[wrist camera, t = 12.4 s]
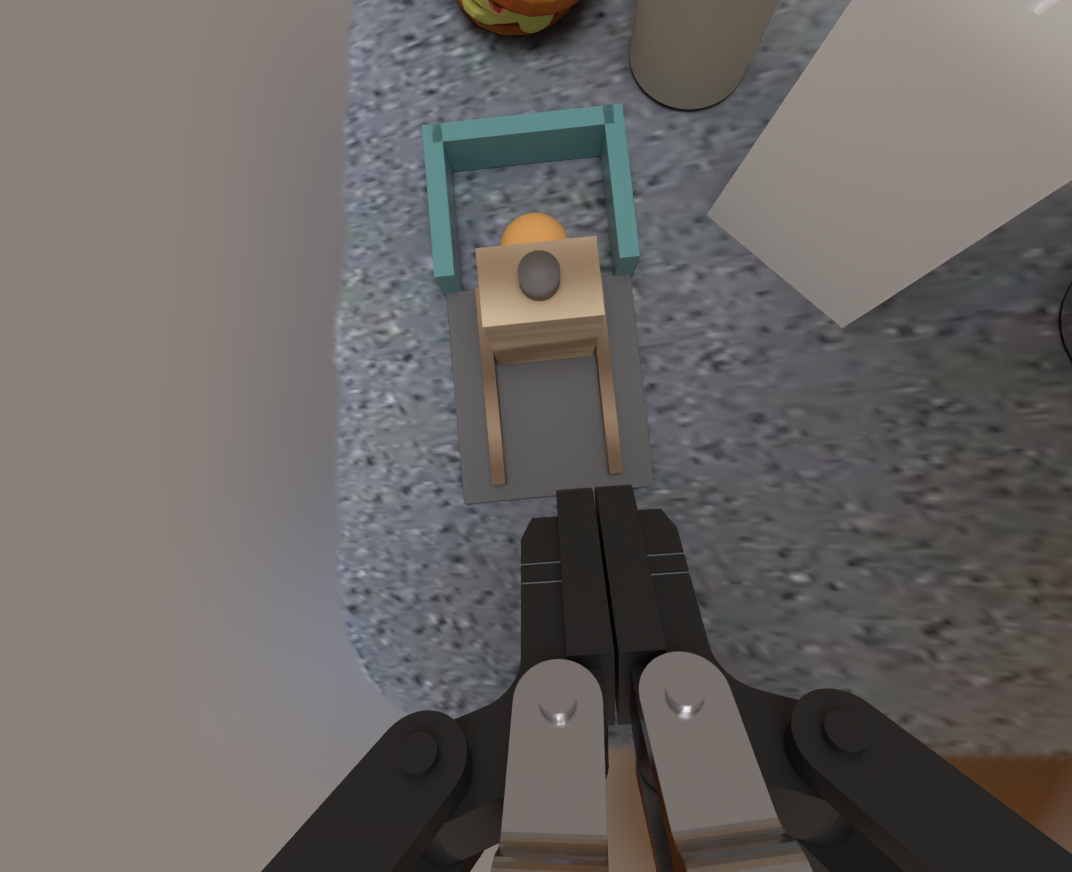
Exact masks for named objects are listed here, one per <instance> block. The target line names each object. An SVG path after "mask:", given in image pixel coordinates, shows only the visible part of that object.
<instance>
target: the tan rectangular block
mask: <svg viewBox="0 0 1072 872" xmlns="http://www.w3.org/2000/svg"><path fill="white" fill-rule="evenodd" d="M475 249H476V260H477V271H478V282H479V293H480V304H481V316H482V327H483V329H484V332H485V334H486V336H487V339H488V341H489V343H490V345H491V348H492V350H493V352H494V355H495V357H496V359H497V362H498V364H499V365H507V364H517V363H527V362H536V361H546V360H556V359H566V358H576V357H586V356H593V352H594V349H595V346H596V342H597V339H598V336H599V332H600V329H601V326H602V323H603V319H604V316H605V311H604V302H603V293H602V284H601V275H600V265H599V256H598V247H597V238H596V236H589V237H580V238H570V239H561V240H551V241H542V242H532V243H522V244H513V245H503V246H494V247H484V248H475Z"/></svg>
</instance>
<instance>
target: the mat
mask: <svg viewBox="0 0 1072 872" xmlns="http://www.w3.org/2000/svg"><path fill="white" fill-rule="evenodd" d="M602 285H603V294H604V303H605V312H606V321H607V330H608V340H609V349H610V358H611V367H612V376H613V385H614V394H615V404H616V413H617V422H618V431H619V440H620V449H621V459H622V468H623V473H616V474H608V469H607V460H606V450H605V441H604V432H603V422H602V413H601V404H600V394H599V385H598V375H597V366H596V357H595V349H594V352H593V356H586V357H576V358H566V359H556V360H546V361H536V362H527V363H517V364H507V365H499V364H498V362H497V359H496V357H495V359H496V370H497V381H498V392H499V403H500V414H501V425H502V435H503V446H504V457H505V468H506V479H507V484H502V485H492V475H491V464H490V452H489V441H488V430H487V419H486V408H485V396H484V385H483V374H482V363H481V351H480V340H479V329H478V318H477V307H476V295H475V290H467V291H458V292H448V293H446V294H447V306H448V318H449V330H450V341H451V353H452V365H453V377H454V389H455V401H456V412H457V424H458V436H459V448H460V460H461V472H462V483H463V495H464V504H470V503H480V502H491V501H501V500H511V499H522V498H532V497H543V496H553V495H556V490H562V489H576V488H589V487H592V489H593V492H595V487H600V486H614V485H627V484H631V485H632V487H633V488H636V487H647V486H654V478H653V470H652V461H651V452H650V443H649V434H648V426H647V417H646V408H645V399H644V391H643V382H642V373H641V364H640V355H639V347H638V338H637V329H636V320H635V311H634V303H633V294H632V285H631V276H630V274H623V275H613V276H603V277H602Z"/></svg>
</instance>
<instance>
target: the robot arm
mask: <svg viewBox="0 0 1072 872" xmlns="http://www.w3.org/2000/svg"><path fill="white" fill-rule="evenodd" d="M1061 328H1062V334H1063V338H1064V342H1065V345H1066V347H1067V349H1068V351H1069V353H1070V355H1071V357H1072V285H1071V287H1070V288H1069V290H1068V293H1067V295H1066V297H1065V300H1064V303H1063V308H1062V313H1061ZM556 495H557V510H558V516H556V517H542V518H532V519H531V521H530V523H529V525H528V527H527V529H526V531H525V533H524V535H523V537H522V539H521V663H520V667H519V671H518V674H517V676H516V679H515V680H514V682H513V684H512V685H511V687H510V688H509V689H508V690H507V691H506V693H504V694H503V695H502V696H501V697H500V698H499V699H497V700H496V701H495V702H493V703H491V704H489V705H487V706H485V707H483V708H481V709H478V710H476V711H474V712H471V713H469V714H466V715H464V716H462V717H459V718H457V719H454V720H453V719H452V718H451V717H449V716H448V715H446V714H444V713H441V712H437V711H419V712H415V713H412V714H409V715H407V716H405V717H404V718H402V719H400V720H399V721H398V722H396V723H395V724H394V725H393V726H392V727H390V728H389V729H388V731H387V732H386V733H385V734H384V735H383V736H382V737H381V738H380V740H379V741H378V742H377V743H376V744H375V745H374V746H373V747H372V748H371V749H370V751H369V752H368V753H367V754H366V755H365V756H364V757H363V758H362V760H361V761H360V762H359V763H358V764H357V765H356V766H355V767H354V769H353V770H352V771H351V772H350V773H349V774H348V775H347V777H346V778H345V779H344V780H343V781H342V782H341V783H340V784H339V785H338V786H337V788H336V789H335V790H334V791H333V792H332V793H331V794H330V795H329V797H328V798H327V799H326V800H325V801H324V802H323V803H322V804H321V805H320V807H319V808H318V809H317V810H316V811H315V812H314V813H313V814H312V815H311V817H310V818H309V819H308V820H307V821H306V822H305V823H304V824H303V826H302V827H301V828H300V829H299V830H298V831H297V832H296V833H295V835H294V836H293V837H292V838H291V839H290V840H289V841H288V842H287V843H286V845H285V846H284V847H283V848H282V849H281V850H280V851H279V852H278V853H277V855H276V856H275V857H274V858H273V859H272V860H271V861H270V862H269V864H268V865H267V866H266V867H265V868H264V869H263V870H262V872H470V871H471V869H472V868H473V867H474V865H475V863H476V862H477V861H478V859H479V858H480V856H481V855H482V853H483V852H484V850H485V849H488V848H490V847H492V846H494V845H496V844H498V843H499V847H498V850H497V851H496V853H495V856H494V859H493V863H492V868H491V872H608V844H607V815H606V814H607V812H606V778H607V774H608V768H609V764H608V725H615V701H616V709H617V717H618V725H619V724H631V725H632V732H633V739H634V746H635V753H636V758H635V771H636V777H637V781H638V786H639V791H640V796H641V800H642V805H643V810H644V815H645V819H646V824H647V829H648V834H649V838H650V843H651V848H652V853H653V857H654V862H655V867H656V872H1072V854H1071V853H1069V852H1068V851H1067V850H1065V849H1064V848H1062V847H1061V846H1060V845H1058V844H1057V843H1056V842H1054V841H1053V840H1052V839H1050V838H1049V837H1048V836H1046V835H1045V834H1044V833H1042V832H1041V831H1040V830H1038V829H1037V828H1035V827H1034V826H1033V825H1032V824H1030V823H1029V822H1028V821H1026V820H1025V819H1024V818H1022V817H1021V816H1020V815H1018V814H1017V813H1015V812H1014V811H1013V810H1011V809H1010V808H1008V807H1007V806H1006V805H1004V804H1003V803H1002V802H1001V801H999V800H998V799H997V798H995V797H994V796H993V795H991V794H989V792H987V791H986V790H985V789H983V788H982V787H981V786H979V785H978V784H976V783H975V782H974V781H972V780H971V779H970V778H968V777H967V776H966V775H964V774H963V773H962V772H960V771H959V770H958V769H956V768H955V767H954V766H952V765H951V764H950V763H948V762H947V761H946V760H944V759H943V758H942V757H940V756H939V755H938V754H936V753H935V752H934V751H932V750H931V749H929V748H928V747H927V746H925V745H924V744H923V743H921V742H920V741H919V740H917V739H916V738H915V737H913V736H912V735H911V734H909V733H908V732H907V731H905V730H904V729H903V728H901V727H900V726H899V725H897V724H896V723H895V722H893V721H892V720H891V719H889V718H888V717H887V716H885V715H884V714H882V713H881V712H880V711H878V710H877V709H876V708H874V707H873V706H872V705H870V704H869V703H867V702H866V701H864V700H863V699H861V698H860V697H858V696H855V695H853V694H851V693H848V692H845V691H842V690H837V689H817V690H814V691H811V692H809V693H807V694H805V695H804V696H803V697H802V698H800V699H799V700H796V699H792V698H788V697H784V696H780V695H776V694H772V693H769V692H765V691H761V690H758V689H755V688H751V687H749V686H747V685H745V684H743V683H741V682H739V681H738V680H736V679H735V678H733V677H732V676H731V675H729V674H728V673H727V672H726V671H725V670H724V669H723V668H722V667H721V666H720V664H719V663H718V662H717V660H716V659H715V657H714V655H713V654H712V652H711V649H710V646H709V643H708V640H707V636H706V632H705V629H704V625H703V621H702V618H701V614H700V610H699V607H698V603H697V599H696V596H695V592H694V588H693V585H692V581H691V577H690V575H689V572H688V566H687V563H686V559H685V556H684V554H683V548H682V544H681V541H680V537H679V533H678V530H677V527H676V526H675V525H674V524H673V523H672V521H671V520H670V519H669V518H668V517H667V516H666V514H665V513H664V512H663V511H662V510H661V509H650V510H637V505H636V501H635V496H634V491H633V487H632V485H631V484H627V485H614V486H600V487H595V503H594V496H593V489H592V487H589V488H576V489H562V490H556Z"/></svg>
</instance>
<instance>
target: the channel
mask: <svg viewBox="0 0 1072 872" xmlns="http://www.w3.org/2000/svg"><path fill="white" fill-rule="evenodd" d="M600 275H601V274H600ZM601 284H602V275H601ZM602 293H603V285H602ZM475 295H476V307H477V318H478V329H479V340H480V351H481V363H482V374H483V385H484V396H485V408H486V419H487V430H488V441H489V452H490V464H491V475H492V485H502V484H507V479H506V468H505V457H504V446H503V435H502V425H501V414H500V403H499V392H498V381H497V370H496V359H495V355H494V352H493V350H492V348H491V345H490V343H489V341H488V339H487V336H486V334H485V332H484V329H483V327H482V316H481V304H480V293H479V287H475ZM603 302H604V294H603ZM604 311H605V303H604ZM595 357H596V366H597V375H598V385H599V394H600V404H601V413H602V422H603V432H604V441H605V450H606V460H607V469H608V474H616V473H623V468H622V459H621V449H620V440H619V431H618V422H617V413H616V404H615V394H614V385H613V376H612V367H611V358H610V349H609V340H608V330H607V321H606V312H605V316H604V319H603V323H602V326H601V329H600V332H599V336H598V339H597V342H596V346H595Z"/></svg>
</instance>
